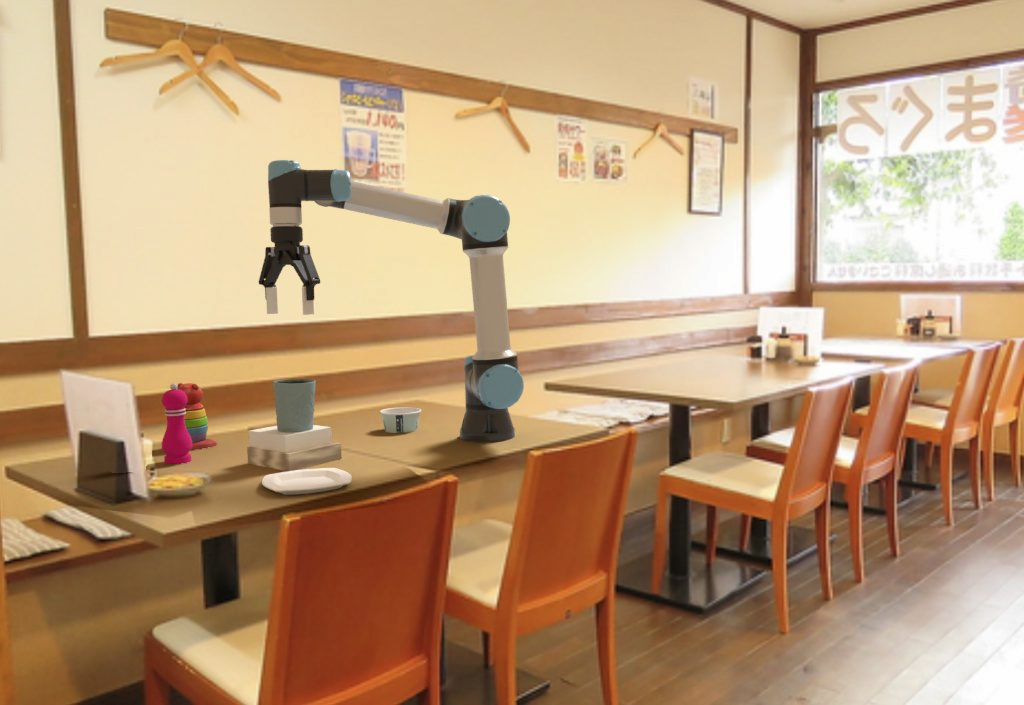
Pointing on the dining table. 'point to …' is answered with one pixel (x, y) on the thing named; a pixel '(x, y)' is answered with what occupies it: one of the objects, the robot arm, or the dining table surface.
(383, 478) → the dining table surface
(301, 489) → the plate
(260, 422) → the dining table surface
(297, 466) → the tower base
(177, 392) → the pepper mill
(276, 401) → the blue-grey cup
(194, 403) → the stacking bear
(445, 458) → the dining table surface
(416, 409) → the food container
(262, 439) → the tower top
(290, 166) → the robot arm
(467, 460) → the dining table surface
